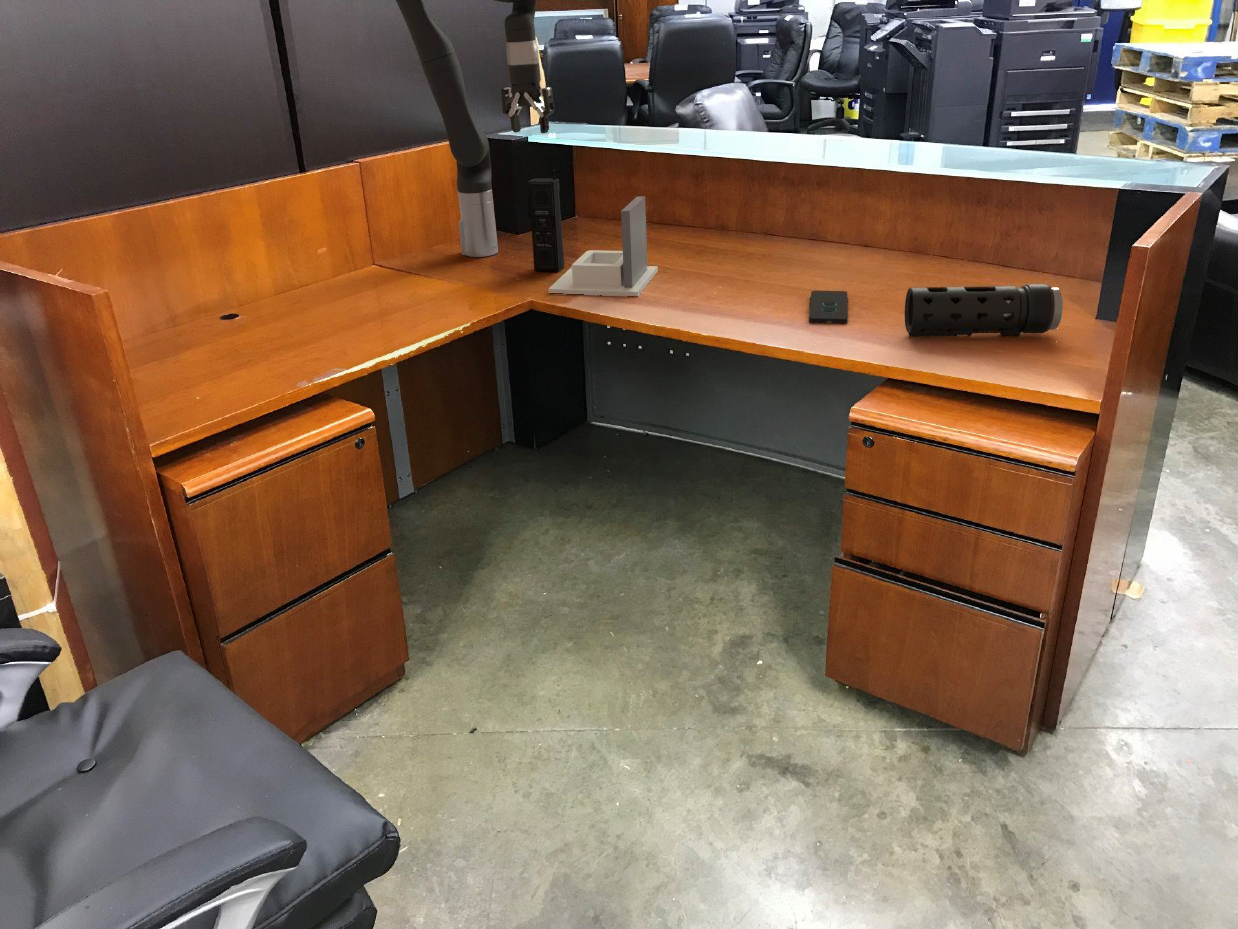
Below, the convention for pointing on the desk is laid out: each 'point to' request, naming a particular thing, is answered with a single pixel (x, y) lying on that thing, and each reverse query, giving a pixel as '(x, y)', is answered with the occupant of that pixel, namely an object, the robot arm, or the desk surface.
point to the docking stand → (613, 262)
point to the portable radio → (546, 224)
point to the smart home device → (828, 307)
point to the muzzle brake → (982, 310)
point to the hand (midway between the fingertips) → (530, 132)
